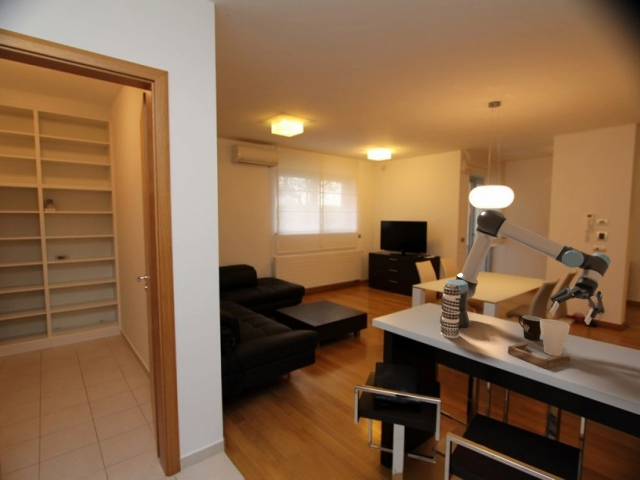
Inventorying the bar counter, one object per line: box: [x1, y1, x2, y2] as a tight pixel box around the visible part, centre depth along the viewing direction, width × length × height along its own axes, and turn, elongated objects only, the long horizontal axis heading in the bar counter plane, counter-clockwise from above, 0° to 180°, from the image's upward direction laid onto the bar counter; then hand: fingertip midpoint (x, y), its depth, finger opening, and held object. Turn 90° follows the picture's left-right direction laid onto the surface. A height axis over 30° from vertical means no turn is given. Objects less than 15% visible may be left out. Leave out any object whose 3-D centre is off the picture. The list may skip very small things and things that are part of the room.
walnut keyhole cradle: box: [507, 340, 571, 370], centre depth 134 cm, size 19×14×3 cm
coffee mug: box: [518, 315, 543, 342], centre depth 158 cm, size 12×9×10 cm
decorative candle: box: [440, 284, 462, 339], centre depth 158 cm, size 9×9×25 cm
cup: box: [540, 318, 571, 357], centre depth 139 cm, size 10×10×14 cm
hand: (568, 318), depth 141 cm, fingers open, 13 cm apart
